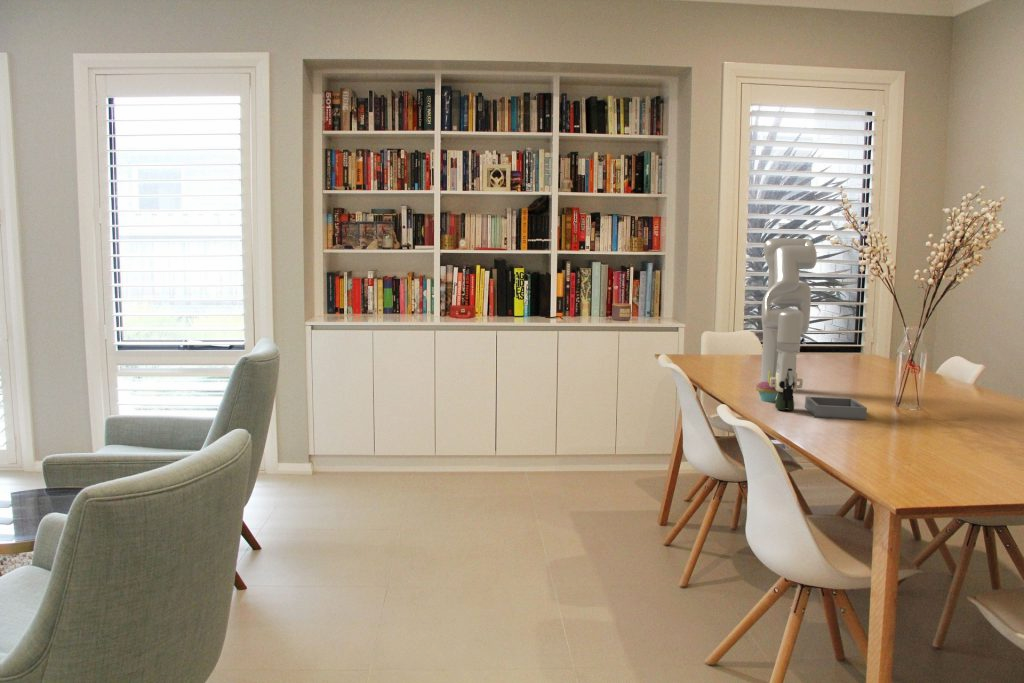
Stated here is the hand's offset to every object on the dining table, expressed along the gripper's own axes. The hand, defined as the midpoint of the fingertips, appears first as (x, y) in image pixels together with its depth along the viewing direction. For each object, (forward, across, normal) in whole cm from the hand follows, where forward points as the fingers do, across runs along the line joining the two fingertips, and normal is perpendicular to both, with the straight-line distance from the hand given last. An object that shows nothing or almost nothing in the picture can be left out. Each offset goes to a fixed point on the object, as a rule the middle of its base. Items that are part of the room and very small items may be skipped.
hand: (785, 397), depth 270 cm
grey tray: (+4, +2, +16) cm, 17 cm away
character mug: (+4, 0, 0) cm, 4 cm away
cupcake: (+5, -16, -3) cm, 17 cm away
